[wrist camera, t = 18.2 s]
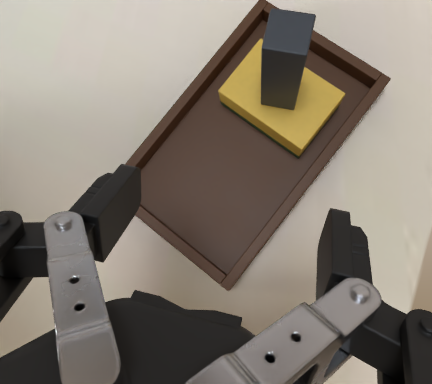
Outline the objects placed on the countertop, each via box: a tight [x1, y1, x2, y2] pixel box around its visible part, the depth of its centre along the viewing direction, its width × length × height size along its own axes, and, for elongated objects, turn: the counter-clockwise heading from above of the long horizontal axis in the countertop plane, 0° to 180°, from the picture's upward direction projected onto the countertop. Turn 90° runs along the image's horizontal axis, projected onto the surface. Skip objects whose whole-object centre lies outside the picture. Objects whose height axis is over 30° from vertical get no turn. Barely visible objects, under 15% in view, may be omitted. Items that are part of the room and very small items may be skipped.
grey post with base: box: [218, 8, 345, 159], centre depth 27 cm, size 8×6×11 cm
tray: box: [125, 0, 390, 291], centre depth 32 cm, size 13×21×2 cm, turn 142°
